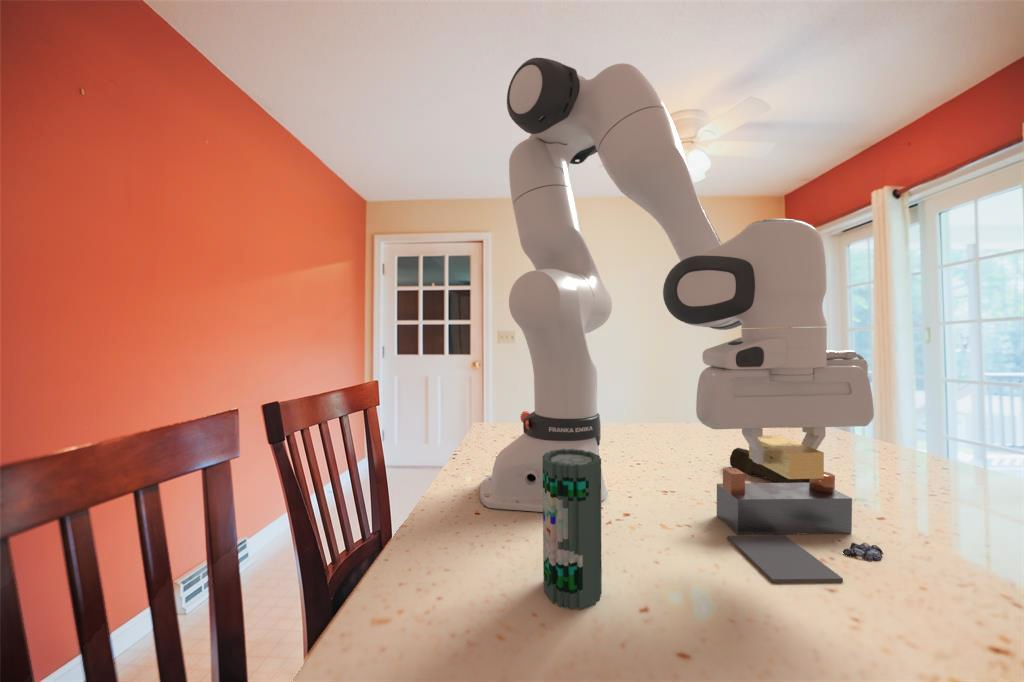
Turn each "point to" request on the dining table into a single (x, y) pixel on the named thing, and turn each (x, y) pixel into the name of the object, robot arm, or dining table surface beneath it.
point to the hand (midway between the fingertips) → (782, 462)
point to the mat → (783, 559)
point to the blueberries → (864, 552)
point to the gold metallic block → (792, 458)
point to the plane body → (782, 506)
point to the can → (572, 528)
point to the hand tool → (757, 467)
